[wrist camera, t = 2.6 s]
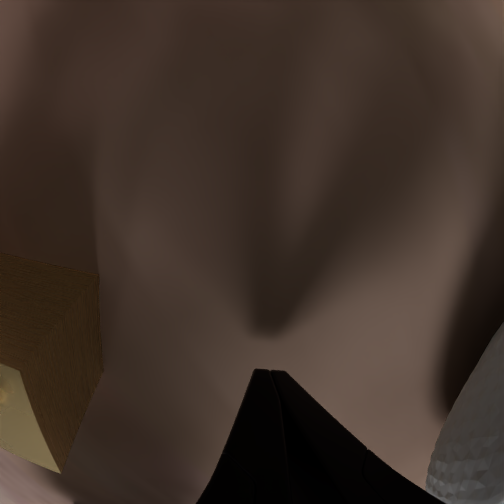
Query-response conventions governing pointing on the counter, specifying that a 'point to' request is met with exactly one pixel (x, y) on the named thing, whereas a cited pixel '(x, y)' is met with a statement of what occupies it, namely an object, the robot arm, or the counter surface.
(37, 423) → the brass block with pegs
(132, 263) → the counter surface
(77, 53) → the counter surface
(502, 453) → the cereal bowl
